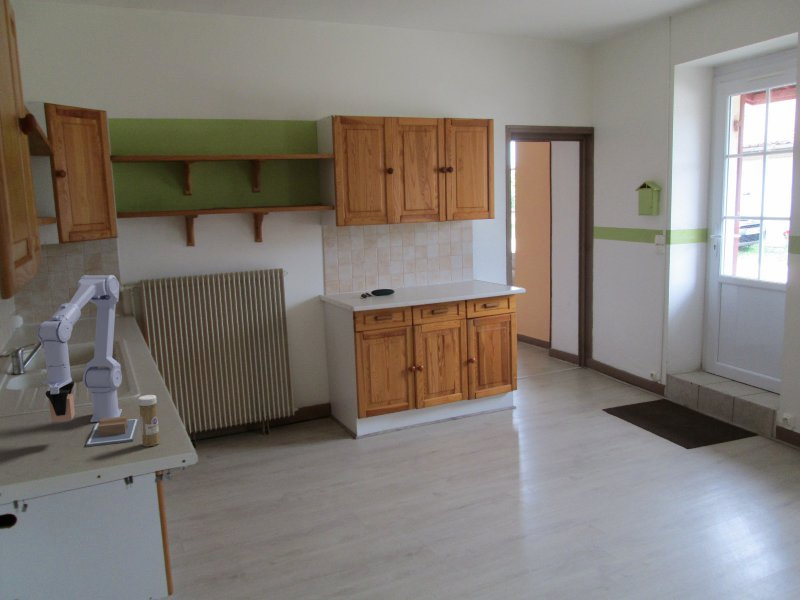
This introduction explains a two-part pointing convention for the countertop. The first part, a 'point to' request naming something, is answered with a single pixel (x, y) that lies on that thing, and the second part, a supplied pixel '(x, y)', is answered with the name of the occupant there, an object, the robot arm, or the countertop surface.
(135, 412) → the countertop surface
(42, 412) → the countertop surface
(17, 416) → the countertop surface
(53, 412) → the terracotta block
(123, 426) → the walnut base block
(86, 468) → the countertop surface
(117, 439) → the board
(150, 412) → the sprinkles bottle
